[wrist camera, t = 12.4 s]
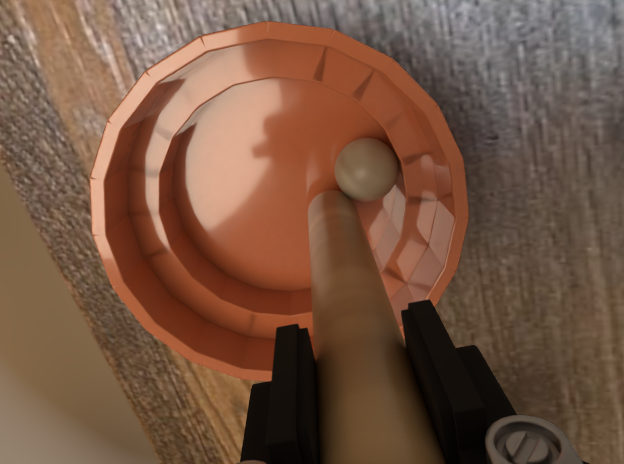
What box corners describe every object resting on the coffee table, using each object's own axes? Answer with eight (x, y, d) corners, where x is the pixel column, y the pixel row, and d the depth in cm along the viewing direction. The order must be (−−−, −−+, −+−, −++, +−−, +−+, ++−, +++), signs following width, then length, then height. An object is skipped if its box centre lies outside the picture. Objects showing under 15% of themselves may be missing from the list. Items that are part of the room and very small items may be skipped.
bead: (313, 163, 24) (348, 123, 22) (357, 161, 26) (393, 125, 24) (338, 216, 23) (377, 180, 21) (382, 211, 25) (422, 177, 23)
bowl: (95, 68, 23) (29, 73, 18) (411, -2, 23) (446, -20, 17) (186, 338, 29) (157, 408, 23) (446, 289, 28) (482, 349, 22)
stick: (303, 194, 24) (309, 553, 7) (352, 185, 24) (483, 524, 7) (313, 240, 24) (341, 661, 8) (360, 231, 24) (495, 637, 7)
